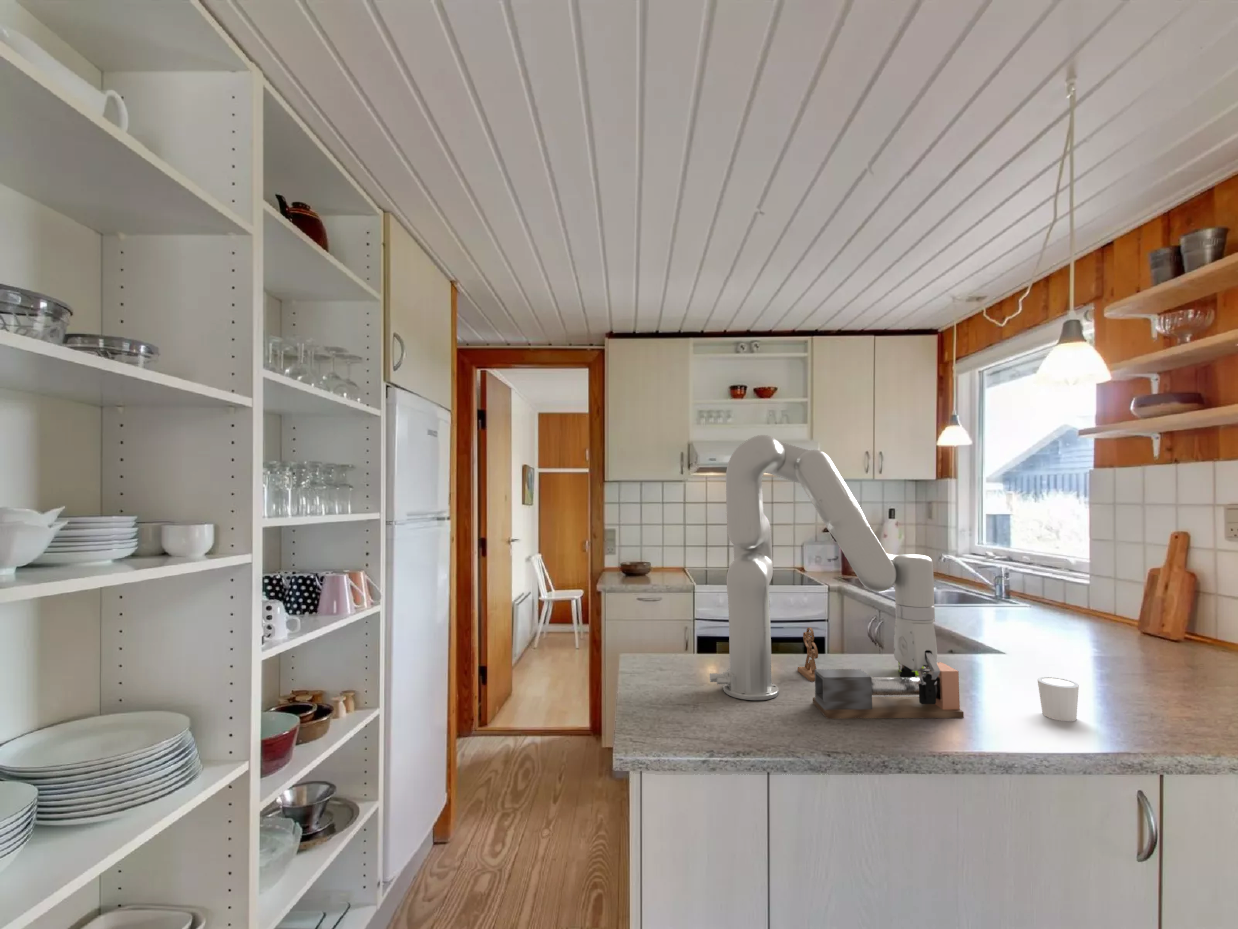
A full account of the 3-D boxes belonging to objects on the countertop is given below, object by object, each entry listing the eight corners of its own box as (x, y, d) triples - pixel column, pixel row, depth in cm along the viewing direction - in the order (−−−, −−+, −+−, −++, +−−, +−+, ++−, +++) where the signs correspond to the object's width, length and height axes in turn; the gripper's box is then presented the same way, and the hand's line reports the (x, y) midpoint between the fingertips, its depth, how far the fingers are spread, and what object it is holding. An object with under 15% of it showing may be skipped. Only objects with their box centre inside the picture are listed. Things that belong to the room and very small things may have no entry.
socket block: (942, 709, 122) (941, 671, 122) (926, 698, 128) (925, 662, 128) (959, 709, 122) (958, 671, 122) (942, 698, 128) (941, 662, 128)
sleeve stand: (827, 718, 120) (826, 679, 121) (812, 703, 129) (812, 667, 130) (963, 717, 120) (962, 679, 121) (939, 702, 129) (938, 666, 130)
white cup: (1082, 725, 116) (1081, 689, 116) (1040, 718, 120) (1038, 683, 120) (1078, 714, 122) (1076, 679, 122) (1037, 707, 126) (1036, 674, 126)
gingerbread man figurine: (825, 680, 144) (824, 631, 145) (810, 681, 144) (809, 632, 145) (811, 670, 153) (810, 623, 154) (797, 670, 153) (796, 624, 154)
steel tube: (852, 703, 122) (852, 677, 123) (843, 694, 127) (842, 670, 128) (953, 702, 122) (952, 677, 123) (939, 693, 128) (938, 669, 128)
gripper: (879, 605, 134) (881, 683, 134) (918, 621, 117) (920, 712, 116) (912, 605, 134) (914, 683, 134) (955, 621, 117) (958, 711, 116)
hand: (917, 696), depth 125 cm, fingers open, 7 cm apart
